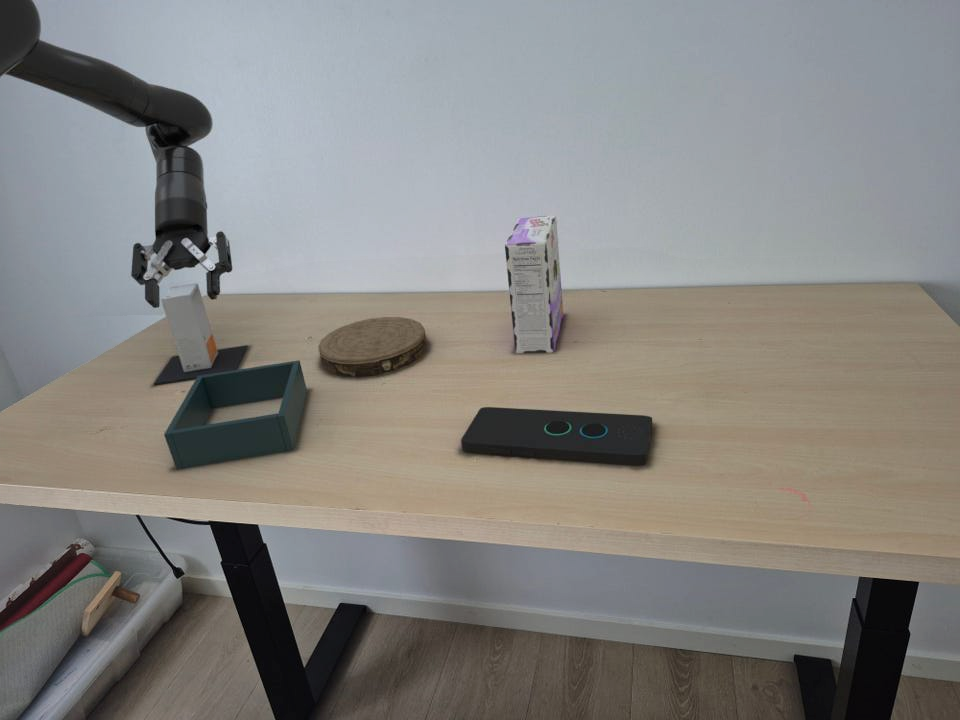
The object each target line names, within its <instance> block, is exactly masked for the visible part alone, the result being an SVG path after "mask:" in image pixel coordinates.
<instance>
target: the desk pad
mask: <svg viewBox="0 0 960 720" xmlns="http://www.w3.org/2000/svg"><path fill="white" fill-rule="evenodd" d="M247 350H248V345H240V346H233V347H232V346H231V347H227V348H220V349H217V351H218V355H217V356H216V358H215V360H214V362H213V364H212V367H211V368H208V369H202V370H196V371H191V372H184V370H183V367H182V364H181V361H180V358H179V355H174V356H171V357H170V360H169V361H168V362H167V364H166V365H165V366H164V368H163V370H162V371H161V372H160V373H159V375H158V377H157V378H156V379H155V381H154V383H153V386H161V385H168V384H174V383H180V382H181V383H182V382H187V381H192V380H193V381H195V380H196V378H197V377H198V376H201V375H207V374H214V373H220V372H227V371H233V370H239V367H240V365H241V363H242V361H243V358H244V356H245V353H246V352H247Z"/></svg>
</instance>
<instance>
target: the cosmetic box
mask: <svg viewBox="0 0 960 720" xmlns="http://www.w3.org/2000/svg"><path fill="white" fill-rule="evenodd" d="M161 303H162V308H163V310H164V313H165V314H164V315H165V316H166V319H167V322H168V326H169V330H170V331H171V335H172V338H173V339H172V340H173V341H174V345H175V348H176V351H177V354H178V355H177V356H179V358H180V361H181V364H182V367H183V370H184V372H191V371H196V370H202V369H208V368H211V367H212V364H213V362H214V360H215V358H216V356H217V355H218V351H217V350H218V348H217V344H216V341H215V338H214V334H213V331H212V327H211V323H210V320H209V317H208V313H207V309H206V306H205V303H204V300H203V297H202V294H201V290H200V286H199V283H198V282H196V283H190V284H184V285H175V286H171V287H170V288H169V289H168V290H167V291H166V292H165V294H164V296H163V297H161Z"/></svg>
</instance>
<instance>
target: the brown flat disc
mask: <svg viewBox="0 0 960 720" xmlns="http://www.w3.org/2000/svg"><path fill="white" fill-rule="evenodd" d="M317 348H318V353H319V356H320V362H321V365H322V368H323V370H324V371H325V372H327V373H328V374H330V375H332V376H335V377H340V378H344V379H345V378H346V379H364V378H365V379H366V378H375V377H379V376H383V375H387V374H392V373H395V372H397V371H400V370H403V369H406V368H408V367H410V366H411V365H413V364H415V363H416V362H417V361H419V360H420V359H422V357H423V356H424V355H425V354H426V353H427V348H428V341H427V335H426V329H425V326H423V324H422V323H421V322H419V321H417V320H415V319H412V318H409V317H401V316H383V317H375V318H367V319H364V320H359V321H355V322H351V323H349V324H346V325H343V326H340V327H338V328H336V329H335V330H333V331H331V332H328V334H326V335H325V336H324V337H323V338H321V340H320V341H319V344H318V346H317Z"/></svg>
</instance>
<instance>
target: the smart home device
mask: <svg viewBox="0 0 960 720" xmlns="http://www.w3.org/2000/svg"><path fill="white" fill-rule="evenodd" d="M652 434H653V417H652V416H649V415H643V414H627V413H626V414H623V413H608V412H607V413H606V412H589V411H587V412H586V411H572V410H571V411H569V410H554V409H553V410H552V409H550V410H549V409H536V408H535V409H533V408H517V407H516V408H512V407H498V406H497V407H495V406H484V407H481V408H479V409H478V411H477V413H476V415H475V416H474V418H473V419H472V421H471V422H470V424H469V425H468V428H467V429H466V431H465V433H464V434H463V435H462V437H461V439H460V444H461V450H462V452H463V453H466V454H472V455H482V456H483V455H484V456H495V457H496V456H497V457H498V456H499V457H510V458H524V459H538V460H549V461H562V462H563V461H564V462H576V463H590V464H601V465H602V464H603V465H614V466H615V465H617V466H629V467H643V466H646V465H647V461H648V456H649V450H650V444H651V439H652Z"/></svg>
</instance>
